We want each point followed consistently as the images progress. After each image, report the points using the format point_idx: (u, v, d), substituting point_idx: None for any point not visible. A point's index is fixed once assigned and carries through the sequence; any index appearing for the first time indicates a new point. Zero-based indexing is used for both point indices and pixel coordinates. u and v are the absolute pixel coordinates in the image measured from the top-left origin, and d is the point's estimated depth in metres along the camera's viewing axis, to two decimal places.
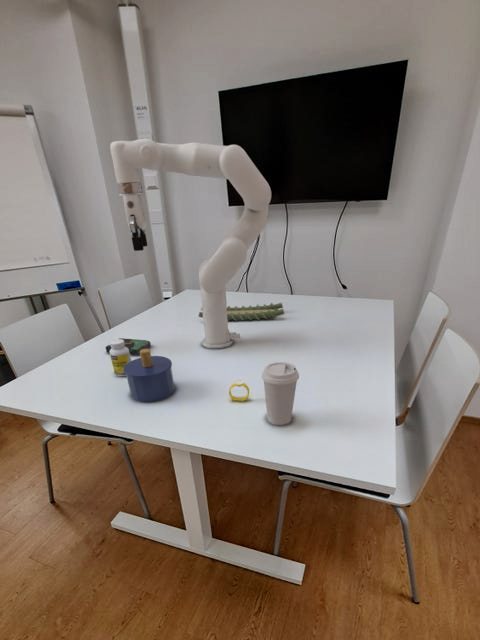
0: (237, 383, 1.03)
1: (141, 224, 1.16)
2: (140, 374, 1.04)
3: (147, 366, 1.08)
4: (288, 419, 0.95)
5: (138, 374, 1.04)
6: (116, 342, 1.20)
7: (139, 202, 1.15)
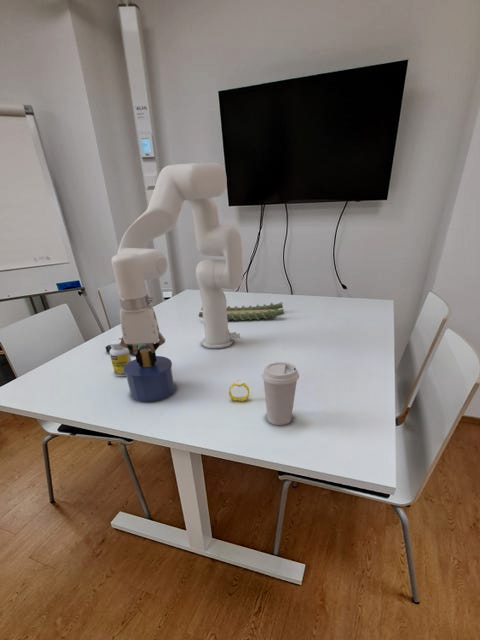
0: (237, 383, 1.03)
1: None
2: (140, 374, 1.04)
3: (147, 366, 1.08)
4: (288, 419, 0.95)
5: (138, 374, 1.04)
6: (116, 342, 1.20)
7: None
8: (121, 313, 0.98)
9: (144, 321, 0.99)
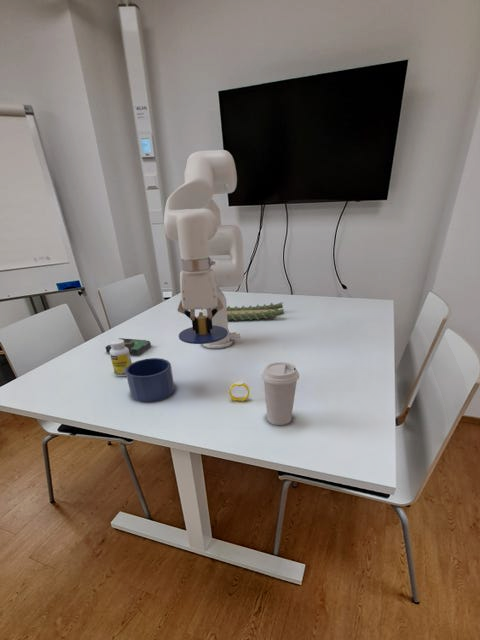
0: (237, 383, 1.03)
1: None
2: (198, 340, 1.01)
3: (203, 333, 1.04)
4: (288, 419, 0.95)
5: (196, 340, 1.01)
6: (116, 342, 1.20)
7: None
8: (182, 275, 0.95)
9: (205, 284, 0.96)
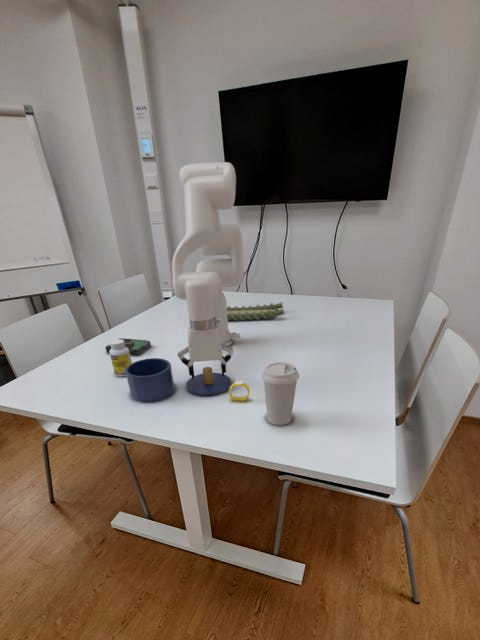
0: (237, 383, 1.03)
1: None
2: (204, 391, 1.10)
3: (209, 383, 1.14)
4: (288, 419, 0.95)
5: (202, 391, 1.10)
6: (116, 342, 1.20)
7: None
8: (190, 333, 1.04)
9: (210, 340, 1.05)
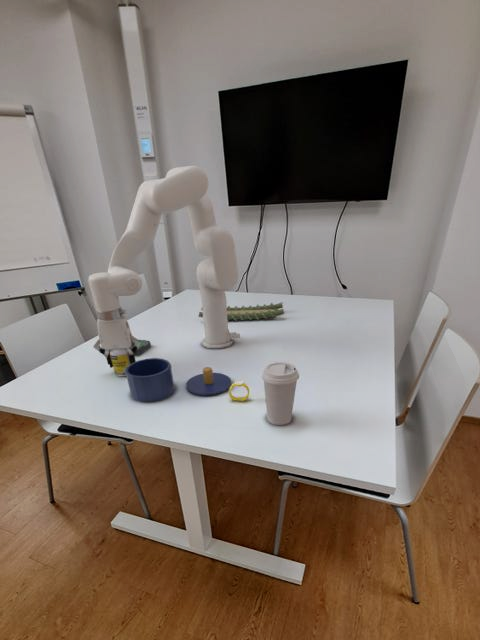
0: (237, 383, 1.03)
1: None
2: (204, 391, 1.10)
3: (209, 383, 1.14)
4: (288, 419, 0.95)
5: (202, 391, 1.10)
6: None
7: None
8: (98, 323, 1.14)
9: (117, 329, 1.16)
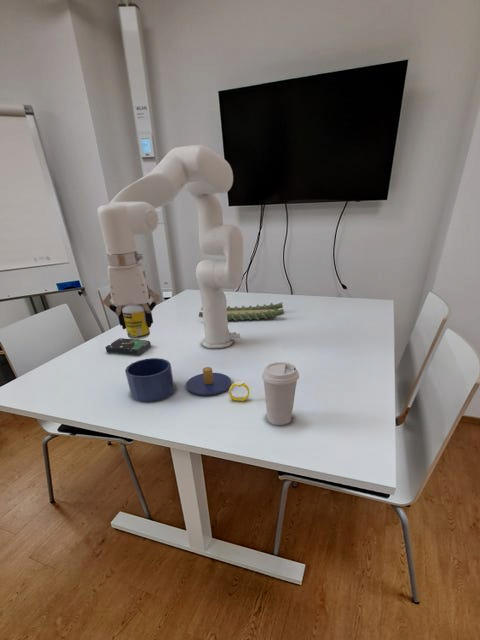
0: (237, 383, 1.03)
1: None
2: (204, 391, 1.10)
3: (209, 383, 1.14)
4: (288, 419, 0.95)
5: (202, 391, 1.10)
6: None
7: None
8: (109, 270, 0.93)
9: (133, 279, 0.94)
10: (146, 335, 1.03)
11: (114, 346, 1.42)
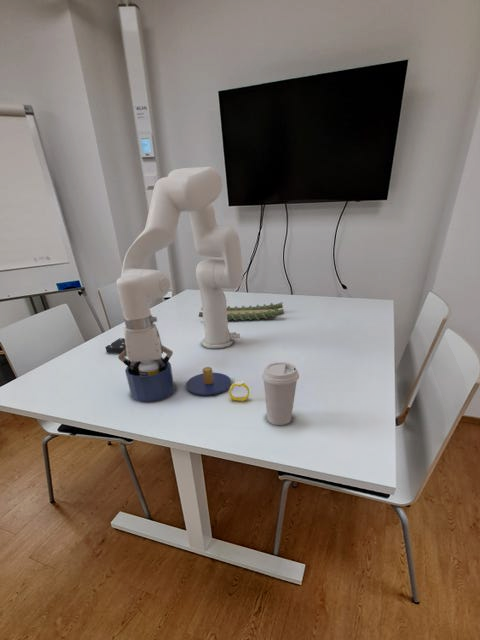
0: (237, 383, 1.03)
1: None
2: (204, 391, 1.10)
3: (209, 383, 1.14)
4: (288, 419, 0.95)
5: (202, 391, 1.10)
6: None
7: None
8: (125, 332, 1.01)
9: (147, 339, 1.02)
10: None
11: (114, 346, 1.42)
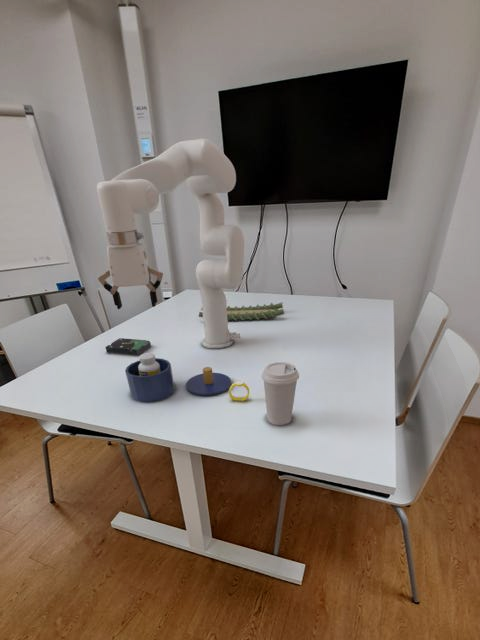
0: (237, 383, 1.03)
1: None
2: (204, 391, 1.10)
3: (209, 383, 1.14)
4: (288, 419, 0.95)
5: (202, 391, 1.10)
6: (146, 356, 1.07)
7: None
8: (108, 249, 0.91)
9: (133, 259, 0.92)
10: None
11: (114, 346, 1.42)
